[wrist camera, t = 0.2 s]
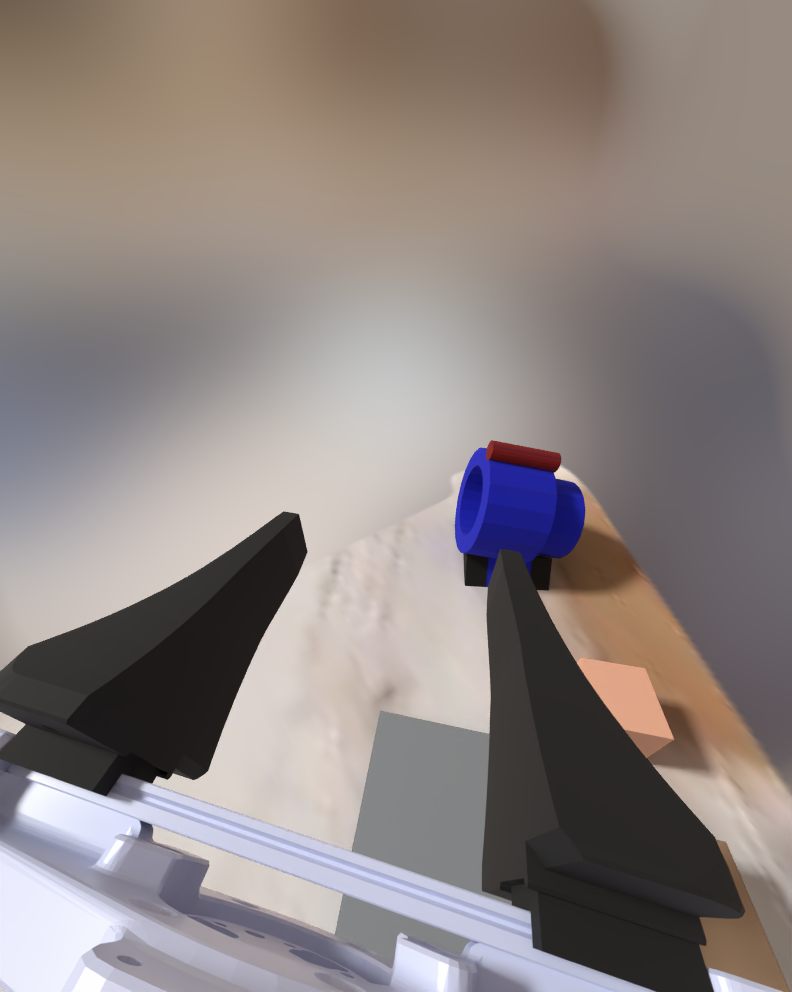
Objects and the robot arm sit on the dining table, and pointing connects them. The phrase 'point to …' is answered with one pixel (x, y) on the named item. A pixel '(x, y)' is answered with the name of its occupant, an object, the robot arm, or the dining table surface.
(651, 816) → the robot arm
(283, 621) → the dining table surface
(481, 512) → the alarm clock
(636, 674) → the terracotta block
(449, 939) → the base plate
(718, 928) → the walnut block
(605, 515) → the dining table surface
